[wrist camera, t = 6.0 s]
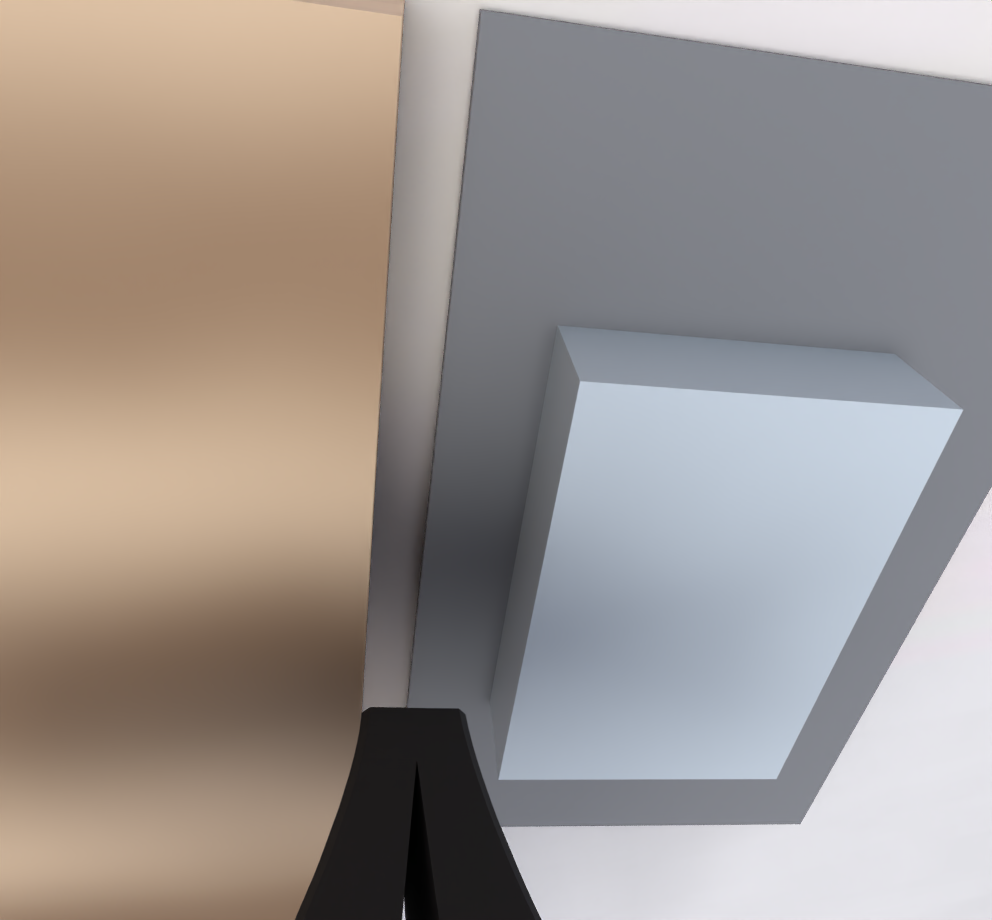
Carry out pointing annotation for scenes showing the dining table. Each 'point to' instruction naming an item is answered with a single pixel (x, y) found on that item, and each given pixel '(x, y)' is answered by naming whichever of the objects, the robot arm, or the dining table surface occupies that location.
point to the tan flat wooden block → (186, 443)
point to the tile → (699, 548)
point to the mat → (695, 324)
